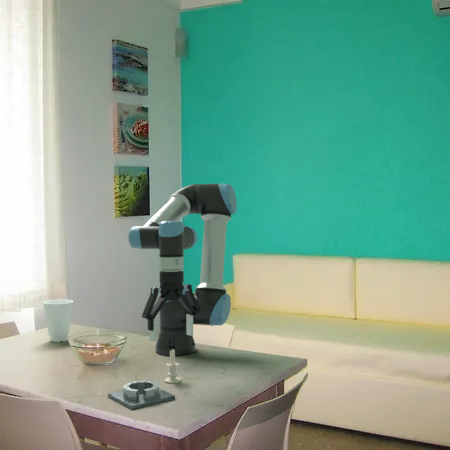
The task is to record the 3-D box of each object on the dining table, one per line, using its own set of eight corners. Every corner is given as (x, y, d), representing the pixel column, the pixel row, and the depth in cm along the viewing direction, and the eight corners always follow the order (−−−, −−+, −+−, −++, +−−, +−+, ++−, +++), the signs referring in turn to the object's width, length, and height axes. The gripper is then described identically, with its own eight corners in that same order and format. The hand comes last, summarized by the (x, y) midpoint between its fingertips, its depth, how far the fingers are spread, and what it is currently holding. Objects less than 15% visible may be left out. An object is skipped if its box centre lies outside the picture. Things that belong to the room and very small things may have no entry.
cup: (38, 343, 242) (38, 303, 242) (52, 336, 254) (51, 299, 254) (66, 343, 241) (65, 304, 240) (78, 337, 252) (77, 299, 252)
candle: (161, 382, 187) (161, 349, 187) (168, 378, 192) (168, 345, 192) (176, 384, 186) (176, 351, 185) (183, 379, 191) (183, 347, 190)
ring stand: (108, 396, 174) (107, 384, 174) (149, 387, 183) (149, 375, 183) (131, 409, 163) (131, 396, 163) (175, 398, 172) (174, 386, 172)
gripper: (142, 273, 177) (143, 345, 178) (210, 268, 192) (211, 334, 193) (130, 272, 183) (130, 341, 183) (197, 267, 198) (197, 331, 199)
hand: (171, 338), depth 188 cm, fingers open, 13 cm apart
